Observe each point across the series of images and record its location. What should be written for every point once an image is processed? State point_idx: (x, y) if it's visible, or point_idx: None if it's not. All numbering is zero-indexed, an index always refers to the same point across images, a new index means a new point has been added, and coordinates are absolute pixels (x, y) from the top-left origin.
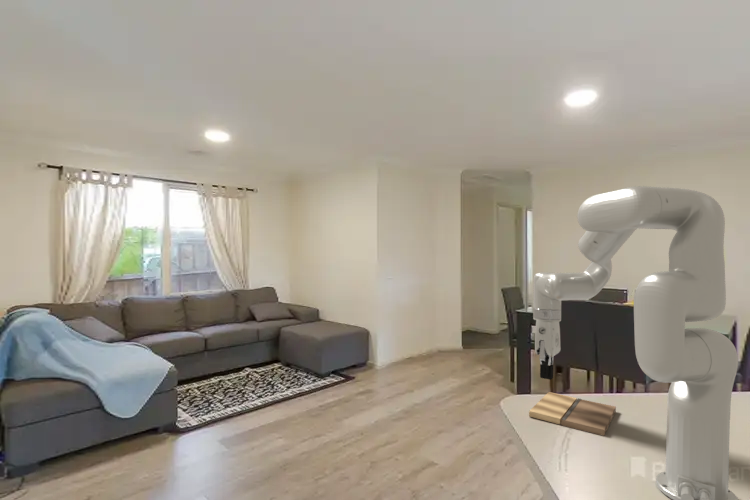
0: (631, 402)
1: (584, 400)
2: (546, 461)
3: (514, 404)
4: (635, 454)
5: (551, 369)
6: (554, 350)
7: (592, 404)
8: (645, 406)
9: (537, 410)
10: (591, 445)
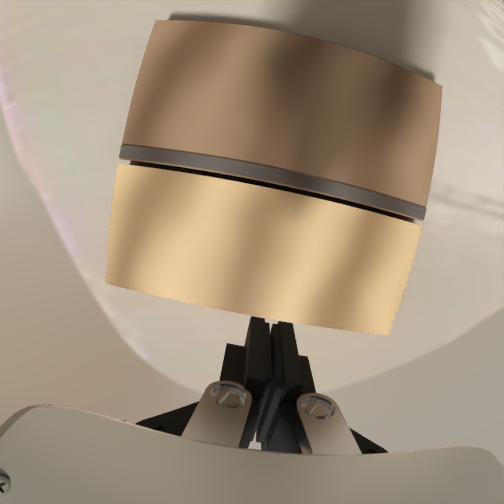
0: (48, 19)
1: (131, 129)
2: None
3: None
4: (480, 50)
5: (300, 365)
6: (459, 501)
7: (169, 94)
8: None
9: (373, 311)
10: (491, 142)
